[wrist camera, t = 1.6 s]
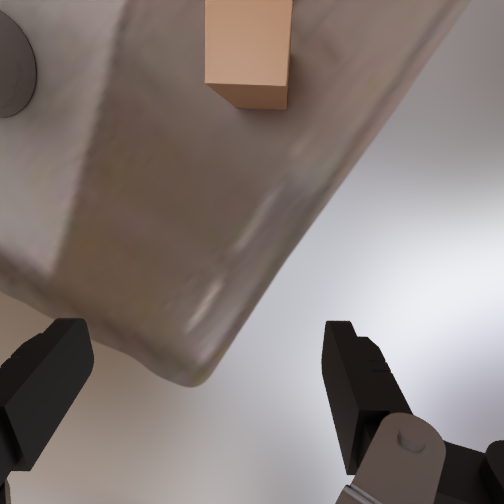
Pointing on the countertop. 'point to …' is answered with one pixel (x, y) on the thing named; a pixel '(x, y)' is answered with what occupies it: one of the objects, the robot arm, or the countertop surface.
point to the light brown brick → (249, 51)
